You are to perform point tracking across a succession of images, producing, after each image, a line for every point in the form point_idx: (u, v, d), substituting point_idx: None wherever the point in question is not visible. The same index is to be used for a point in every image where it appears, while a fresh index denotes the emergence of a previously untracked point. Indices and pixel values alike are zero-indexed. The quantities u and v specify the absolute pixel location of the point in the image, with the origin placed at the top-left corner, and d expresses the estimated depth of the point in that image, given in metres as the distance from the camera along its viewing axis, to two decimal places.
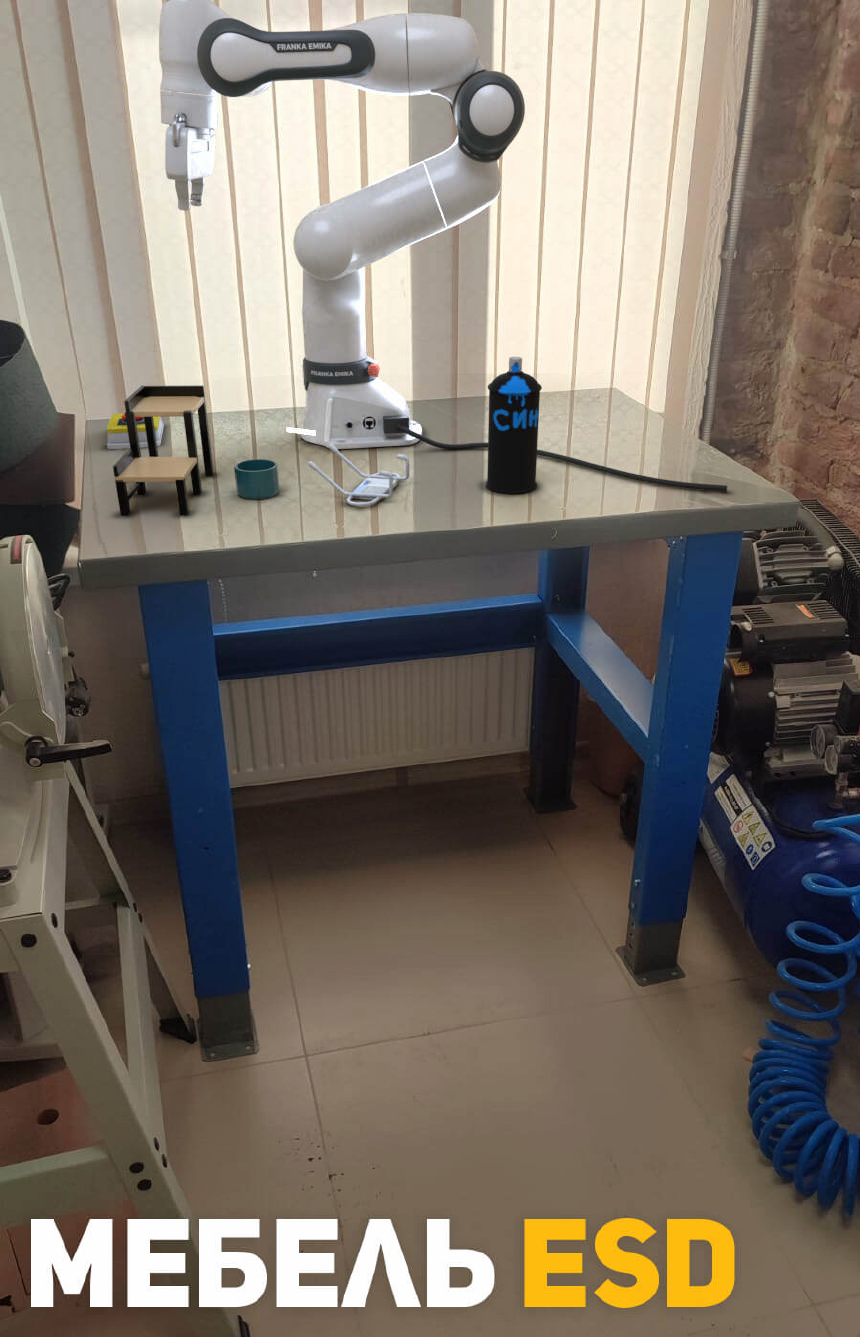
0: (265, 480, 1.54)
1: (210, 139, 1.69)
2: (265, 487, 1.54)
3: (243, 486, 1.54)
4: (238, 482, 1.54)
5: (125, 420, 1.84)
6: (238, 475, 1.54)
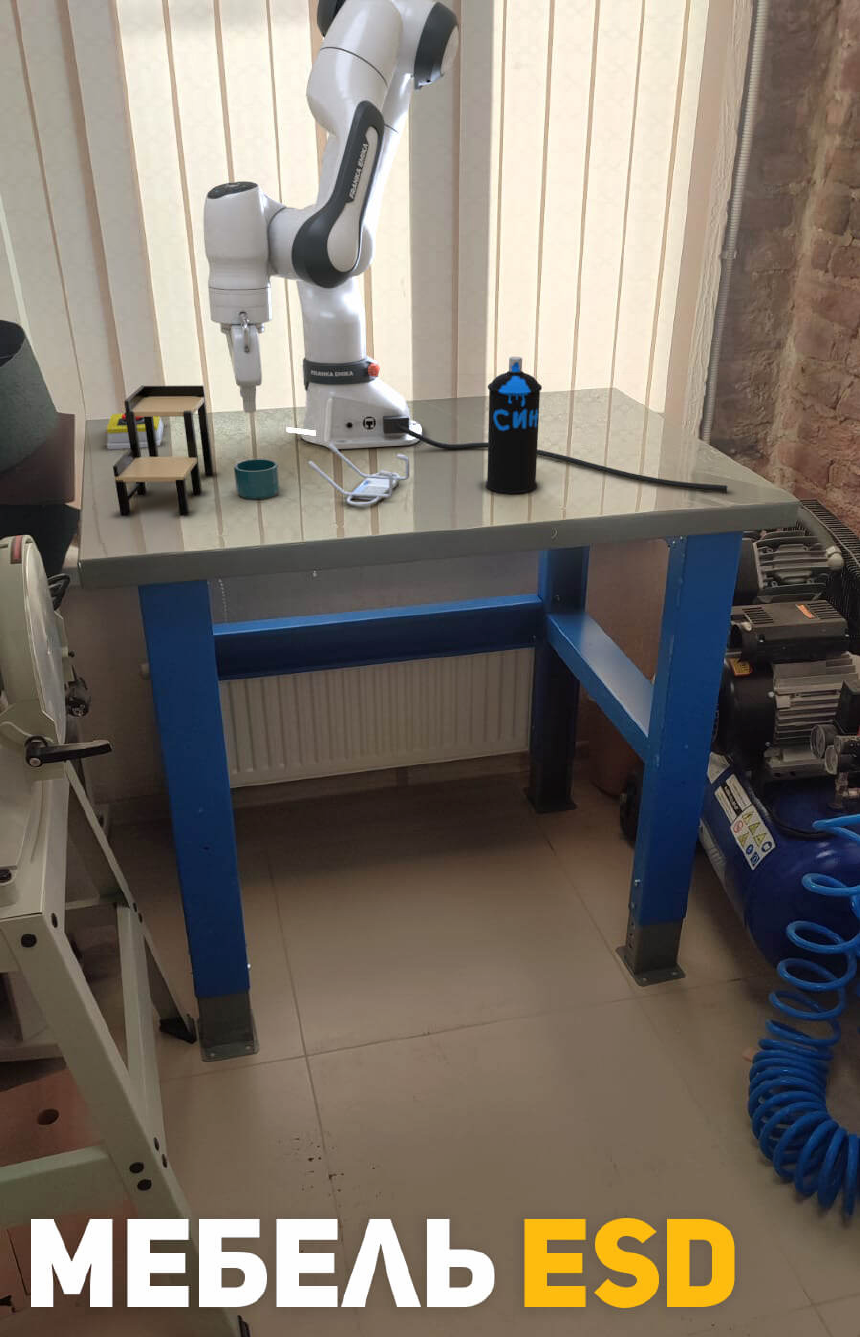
0: (265, 480, 1.54)
1: None
2: (265, 487, 1.54)
3: (243, 486, 1.54)
4: (238, 482, 1.54)
5: (125, 420, 1.84)
6: (238, 475, 1.54)
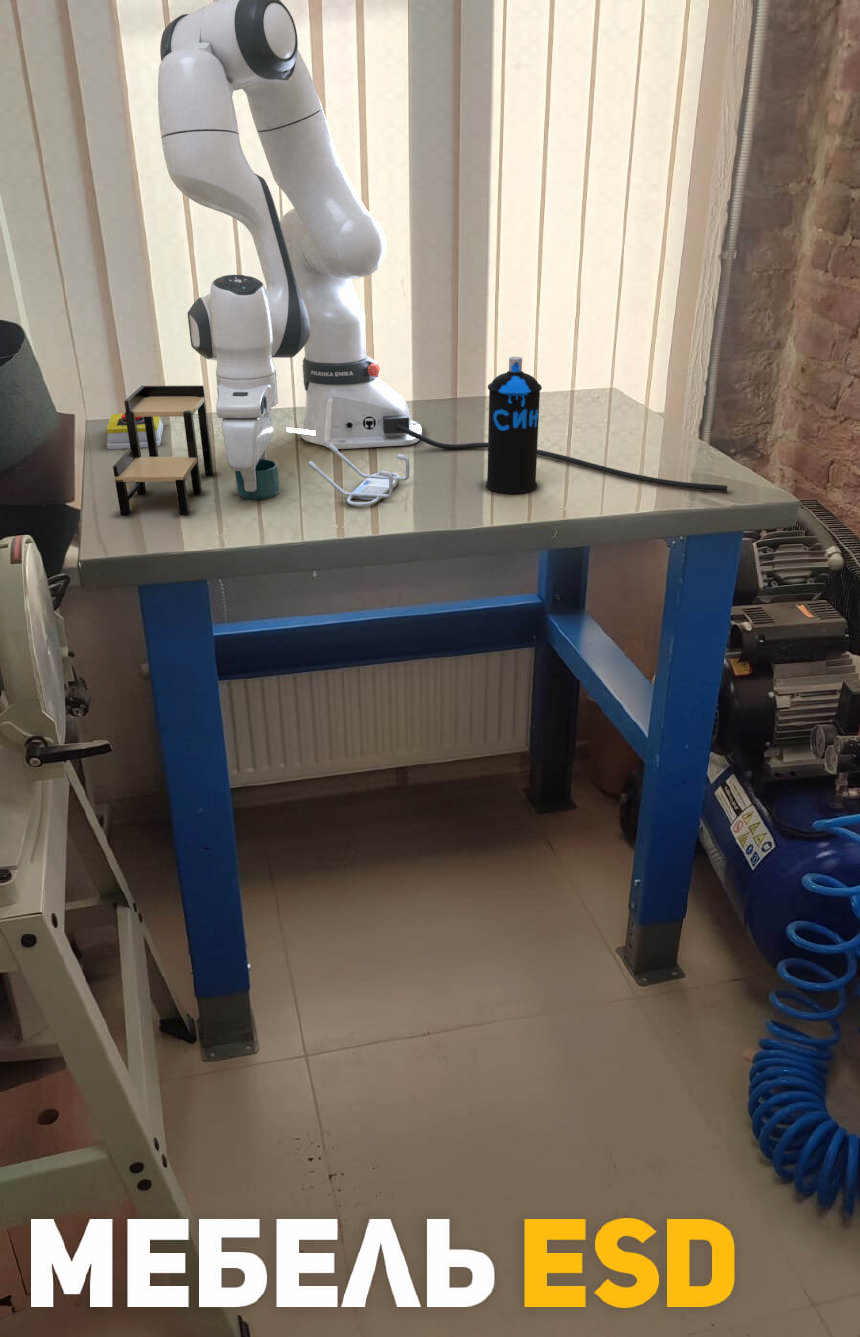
0: (265, 480, 1.54)
1: None
2: (265, 487, 1.54)
3: (243, 487, 1.54)
4: (238, 482, 1.54)
5: (125, 420, 1.84)
6: (238, 475, 1.54)
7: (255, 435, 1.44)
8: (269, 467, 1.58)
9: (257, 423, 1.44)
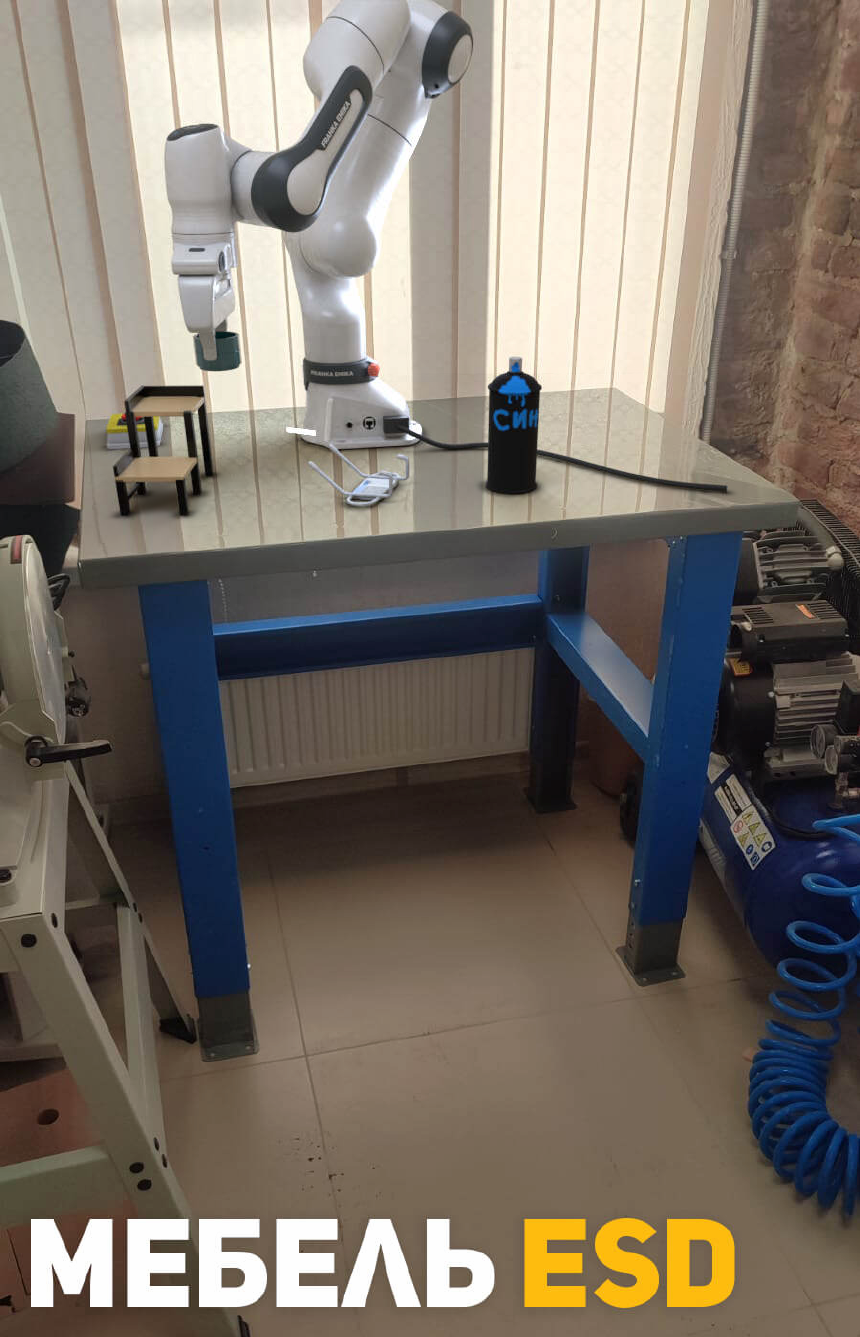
0: (226, 350, 1.46)
1: None
2: (226, 357, 1.46)
3: (202, 357, 1.46)
4: (197, 353, 1.47)
5: (125, 420, 1.84)
6: (197, 345, 1.46)
7: (213, 293, 1.36)
8: None
9: (215, 280, 1.36)
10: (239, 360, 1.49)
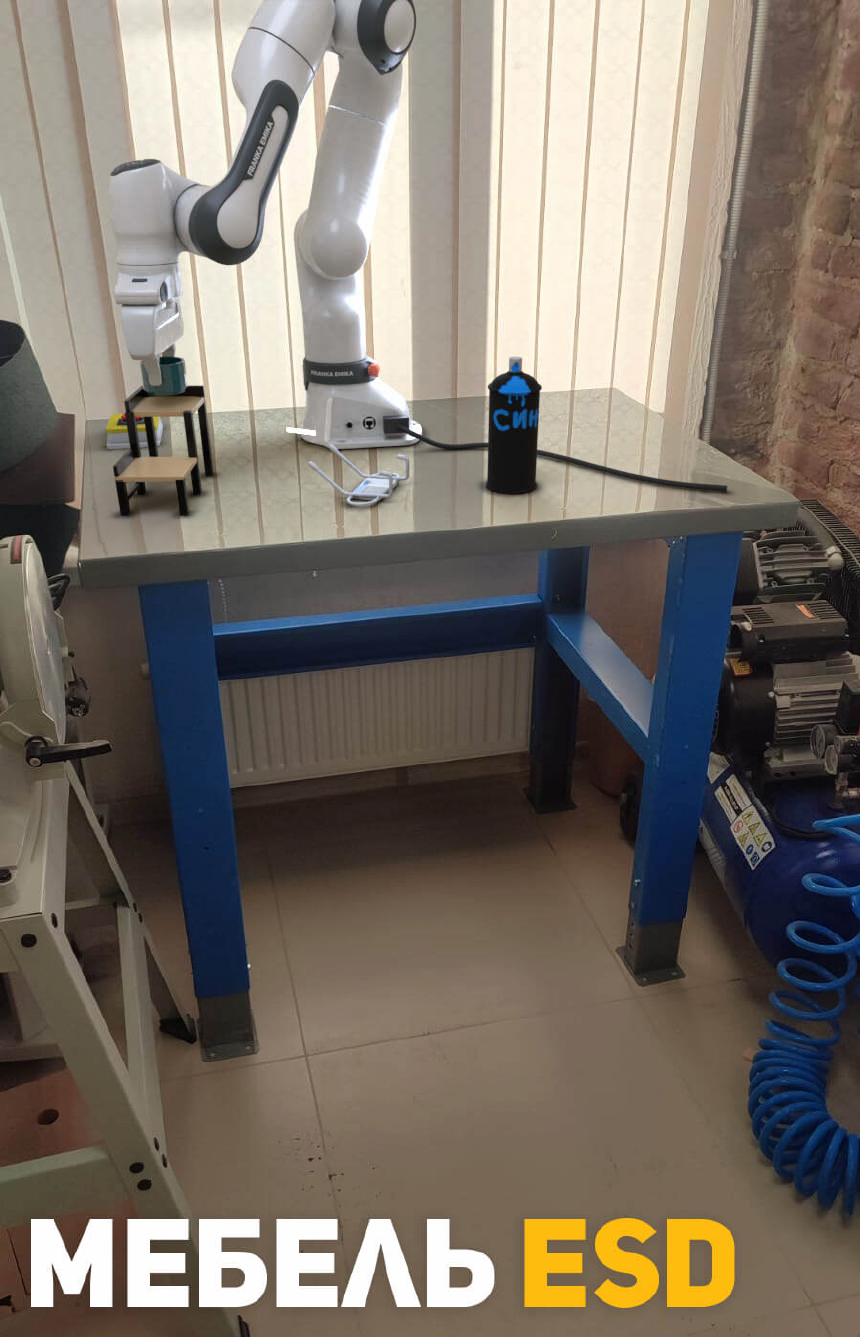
0: (170, 375, 1.51)
1: None
2: (171, 382, 1.51)
3: (148, 382, 1.51)
4: (143, 378, 1.52)
5: (124, 420, 1.84)
6: (143, 370, 1.51)
7: (154, 322, 1.41)
8: None
9: (157, 310, 1.41)
10: (185, 385, 1.54)
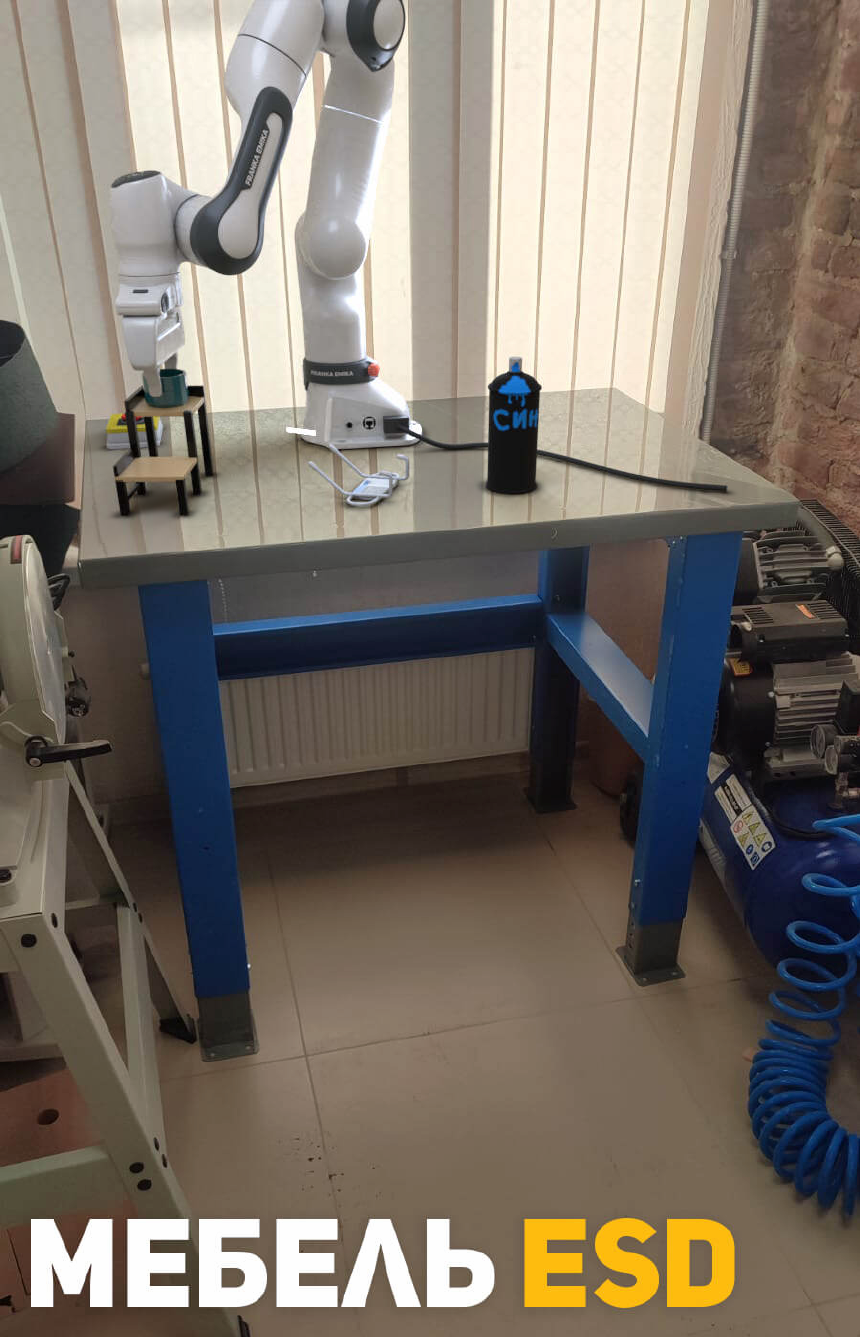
0: (172, 387, 1.52)
1: None
2: (172, 395, 1.52)
3: None
4: (145, 390, 1.53)
5: (124, 420, 1.84)
6: (145, 382, 1.52)
7: (155, 332, 1.42)
8: None
9: (158, 320, 1.42)
10: (186, 397, 1.55)
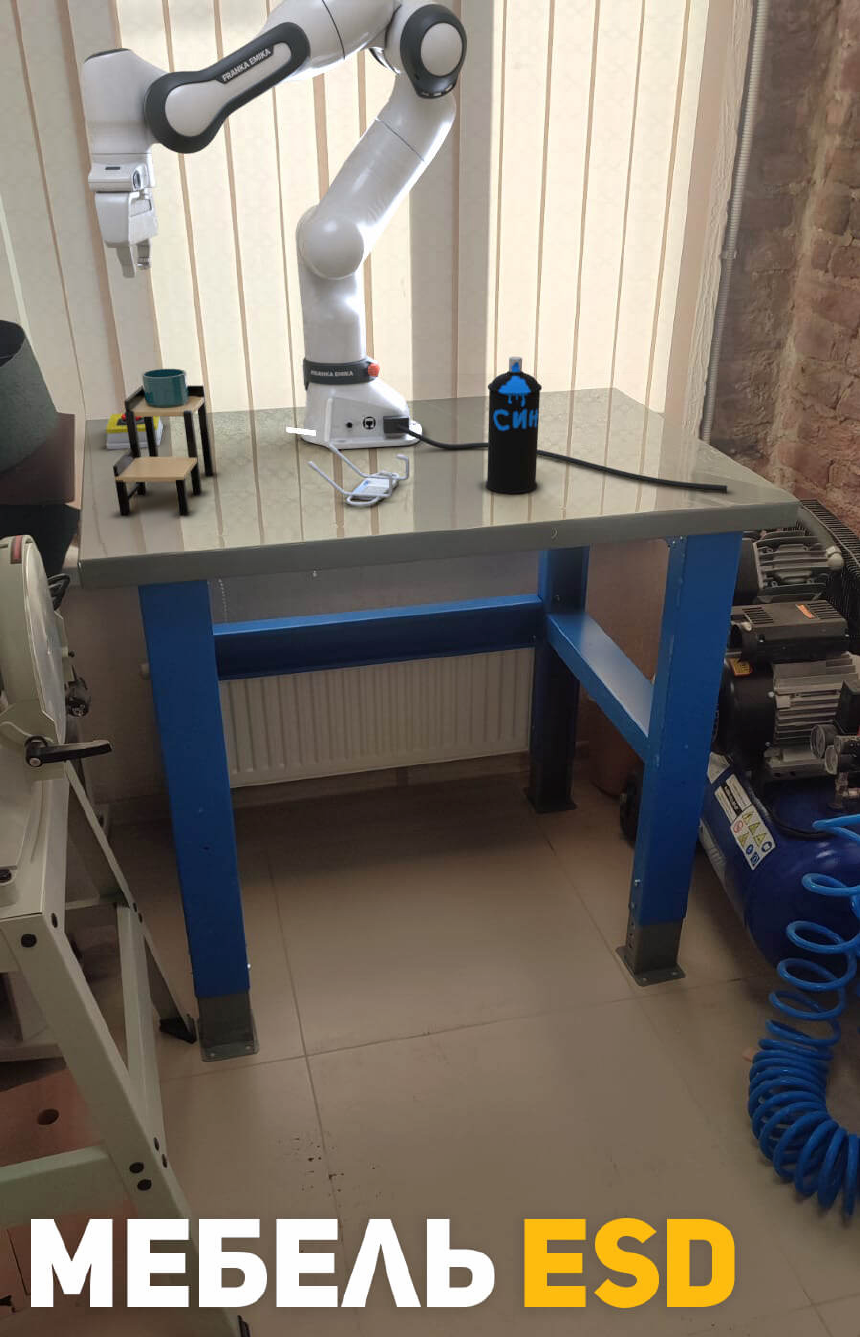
0: (172, 387, 1.52)
1: None
2: (172, 395, 1.52)
3: (150, 394, 1.52)
4: (145, 390, 1.53)
5: (124, 420, 1.84)
6: (145, 382, 1.52)
7: (128, 208, 1.44)
8: None
9: (130, 197, 1.45)
10: (186, 397, 1.55)
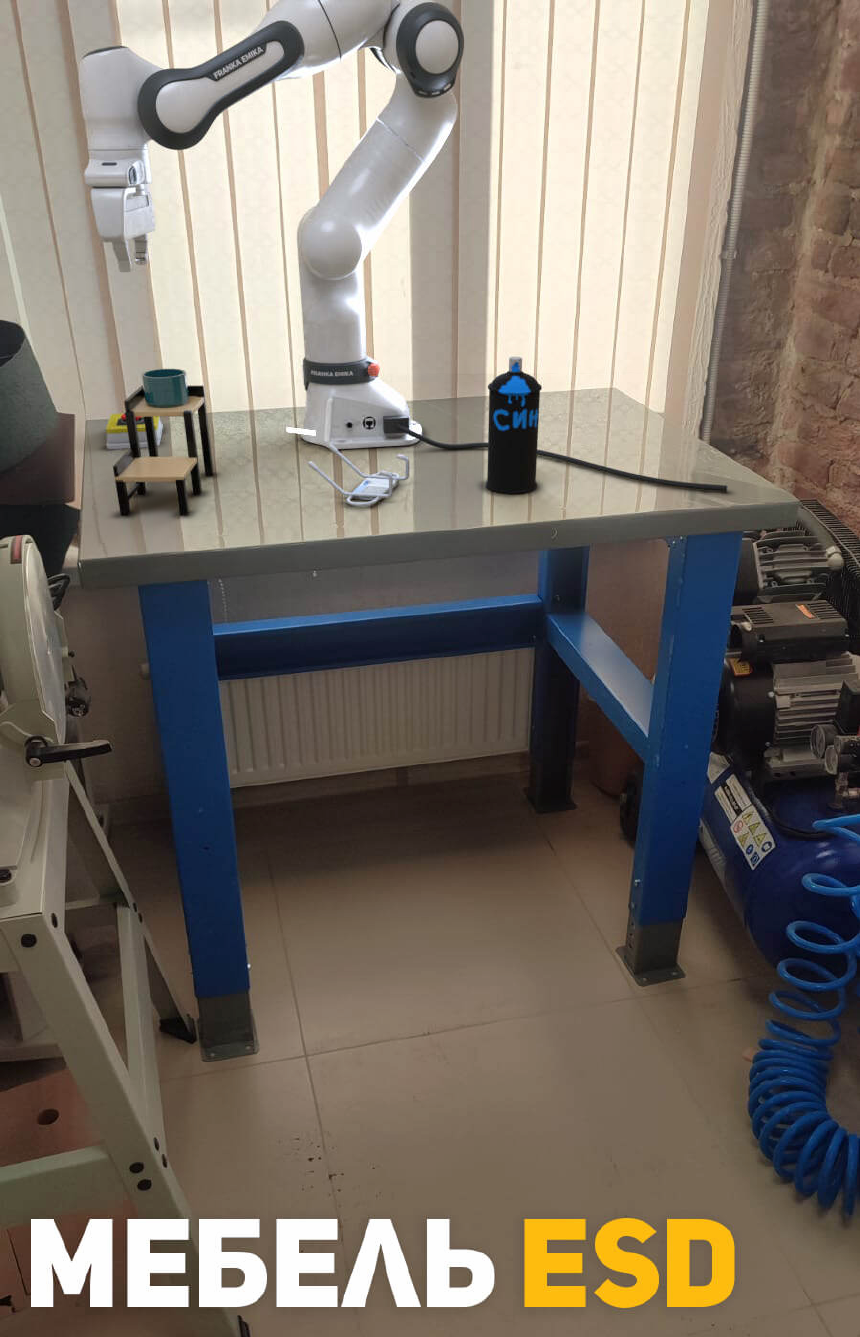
0: (172, 387, 1.52)
1: None
2: (172, 395, 1.52)
3: (150, 394, 1.52)
4: (145, 390, 1.53)
5: (124, 420, 1.84)
6: (145, 382, 1.52)
7: (123, 203, 1.47)
8: None
9: (125, 192, 1.47)
10: (186, 397, 1.55)
